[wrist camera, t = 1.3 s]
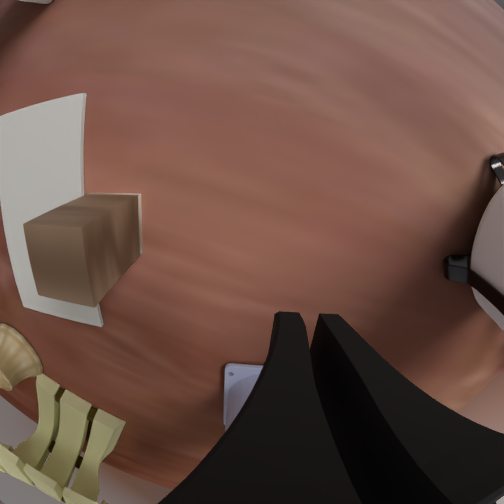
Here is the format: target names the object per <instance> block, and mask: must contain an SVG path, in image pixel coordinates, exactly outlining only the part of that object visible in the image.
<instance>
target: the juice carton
mask: <svg viewBox="0 0 504 504" xmlns="http://www.w3.org/2000/svg"><path fill="white" fill-rule="evenodd" d="M19 1H25V2H34V3H42V4H49V3H51V2H52V1H53V0H19Z"/></svg>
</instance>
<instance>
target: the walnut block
mask: <svg viewBox="0 0 504 504" xmlns="http://www.w3.org/2000/svg"><path fill="white" fill-rule="evenodd" d="M23 228H24V234H25V240H26V245H27V250H28V255H29V260H30V265H31V269H32V273H33V277H34V281H35V285H36V289H37V292H38V295H40V296H44V297H48V298H52V299H56V300H61V301H65V302H70V303H74V304H79V305H84V306H89V307H94V308H95V307H96V306H97V304H98V303H99V302H100V301H101V300H102V298H103V297H104V296H105V295H106V294H107V292H108V291H109V290H110V289H111V288H112V287H113V285H114V284H115V283H116V282H117V281H118V280H119V278H120V277H121V276H122V275H123V274H124V273H125V272H126V270H127V269H128V268H129V267H130V266H131V265H132V264H133V263H134V261H135V260H136V259H137V258H138V257H139V256H140V255H141V254H142V253H143V240H142V218H141V194H132V193H89V194H86V195H84V196H82V197H79V198H77V199H75V200H72V201H70V202H68V203H66V204H63V205H61V206H59V207H57V208H55V209H52V210H50V211H48V212H46V213H44V214H42V215H40V216H38V217H36V218H34V219H32V220H30V221H28V222H26V223H24V224H23Z"/></svg>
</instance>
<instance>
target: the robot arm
mask: <svg viewBox="0 0 504 504" xmlns="http://www.w3.org/2000/svg"><path fill="white" fill-rule="evenodd" d="M229 372H232V373H229ZM223 424H224V425H225V433H224V435H223V436H222V437H221V438H220V440H219V441H218V442H217V444H216V445H215V446H214V447H213V448H212V450H211V451H210V452H209V453H208V454H207V455H206V457H205V458H204V459H203V460H202V461H201V462H200V464H199V465H198V466H197V467H196V468H195V469H194V470H193V471H192V472H191V473H190V474H189V475H188V476H187V477H186V478H185V479H184V480H183V481H182V482H181V483H180V484H179V485H178V486H177V487H176V488H175V489H174V490H173V491H171V492H170V493H169V494H168V495H167V496H166V497H165V498H164V499H163V500H161V501H160V502H159V503H158V504H496V501H497V500H498V499H500V498H501V497H503V496H504V434H502V433H499V432H497V431H494V430H492V429H489V428H487V427H484V426H482V425H480V424H477V423H475V422H473V421H471V420H469V419H467V418H465V417H463V416H461V415H460V414H458V413H456V412H455V411H453V410H451V409H449V408H448V407H446V406H444V405H443V404H441V403H439V402H438V401H436V400H435V399H433V398H432V397H430V396H429V395H428V394H426V393H425V392H424V391H422V390H421V389H419V388H418V387H417V386H415V385H414V384H413V383H411V382H410V381H409V380H408V379H406V378H405V377H404V376H403V375H402V374H400V373H399V372H398V371H397V370H396V369H395V368H394V367H392V366H391V365H390V364H389V363H388V362H387V361H386V360H385V359H384V358H382V357H381V356H380V355H379V354H378V353H377V352H376V351H375V350H374V349H373V348H372V347H371V346H370V345H369V344H368V343H367V342H366V341H365V340H364V339H363V338H362V337H361V336H360V335H359V334H358V333H357V332H356V331H355V330H354V329H353V328H352V327H351V326H350V325H349V324H348V323H347V322H346V321H345V320H344V319H343V318H342V317H341V316H339V315H338V314H319V316H318V320H317V324H316V328H315V332H314V336H313V340H312V343H311V347H310V349H309V343H308V337H307V331H306V326H305V323H304V321H303V319H302V317H301V315H300V313H297V312H280V311H279V312H278V313H276V314H275V316H274V322H273V329H272V335H271V341H270V347H269V353H268V356H267V358H266V361H265V363H264V365H263V366H261V365H246V364H234V363H229V364H227V365H226V366H225V377H224V413H223ZM0 504H4V503H3V502H2V501H0Z"/></svg>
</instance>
